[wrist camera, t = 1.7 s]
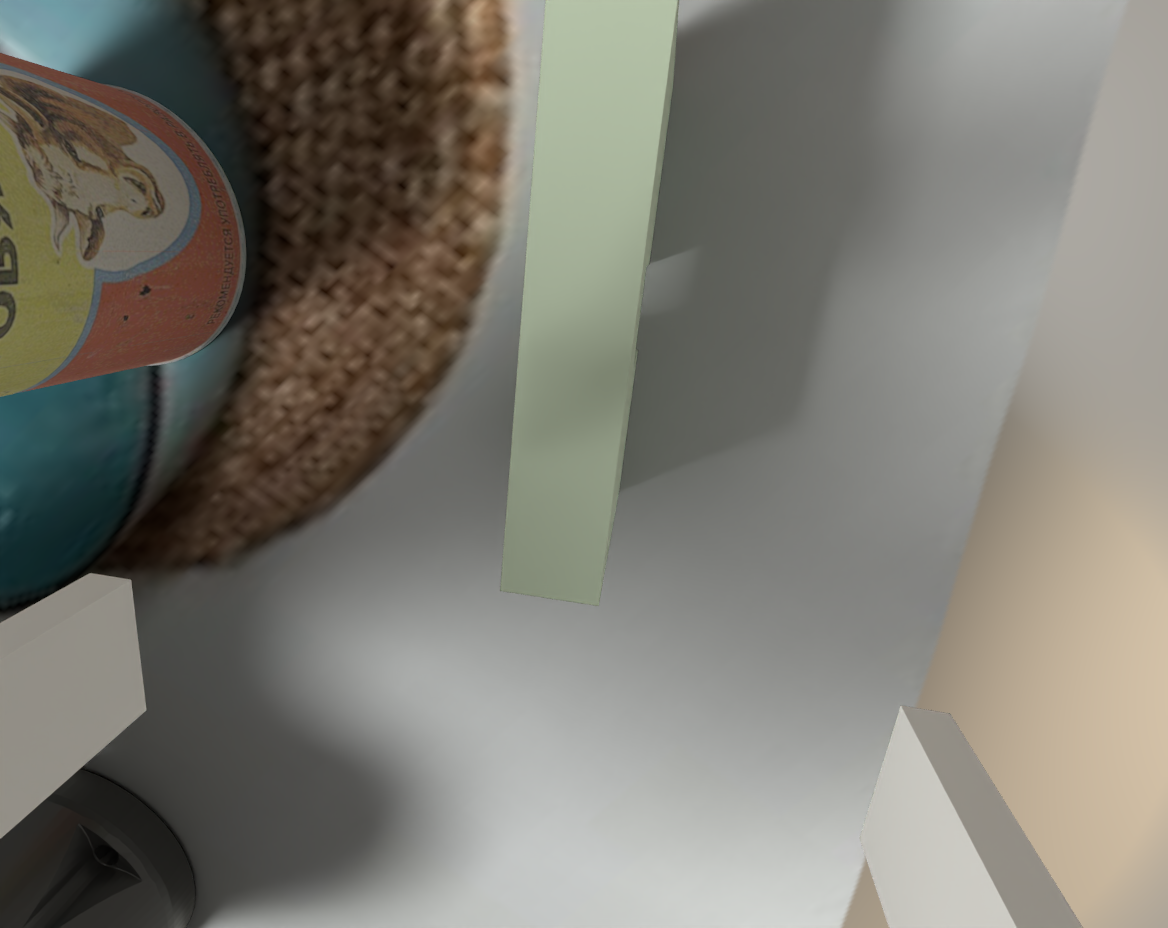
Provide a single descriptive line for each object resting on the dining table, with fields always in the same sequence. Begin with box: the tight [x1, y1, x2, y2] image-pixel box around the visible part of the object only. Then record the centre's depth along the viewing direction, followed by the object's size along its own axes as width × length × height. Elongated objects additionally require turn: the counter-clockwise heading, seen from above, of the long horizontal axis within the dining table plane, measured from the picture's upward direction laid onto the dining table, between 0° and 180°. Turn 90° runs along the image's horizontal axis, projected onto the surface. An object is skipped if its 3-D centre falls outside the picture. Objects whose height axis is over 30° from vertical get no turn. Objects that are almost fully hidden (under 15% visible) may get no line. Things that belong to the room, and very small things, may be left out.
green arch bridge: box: [500, 0, 679, 606], centre depth 22 cm, size 3×16×10 cm, turn 174°
